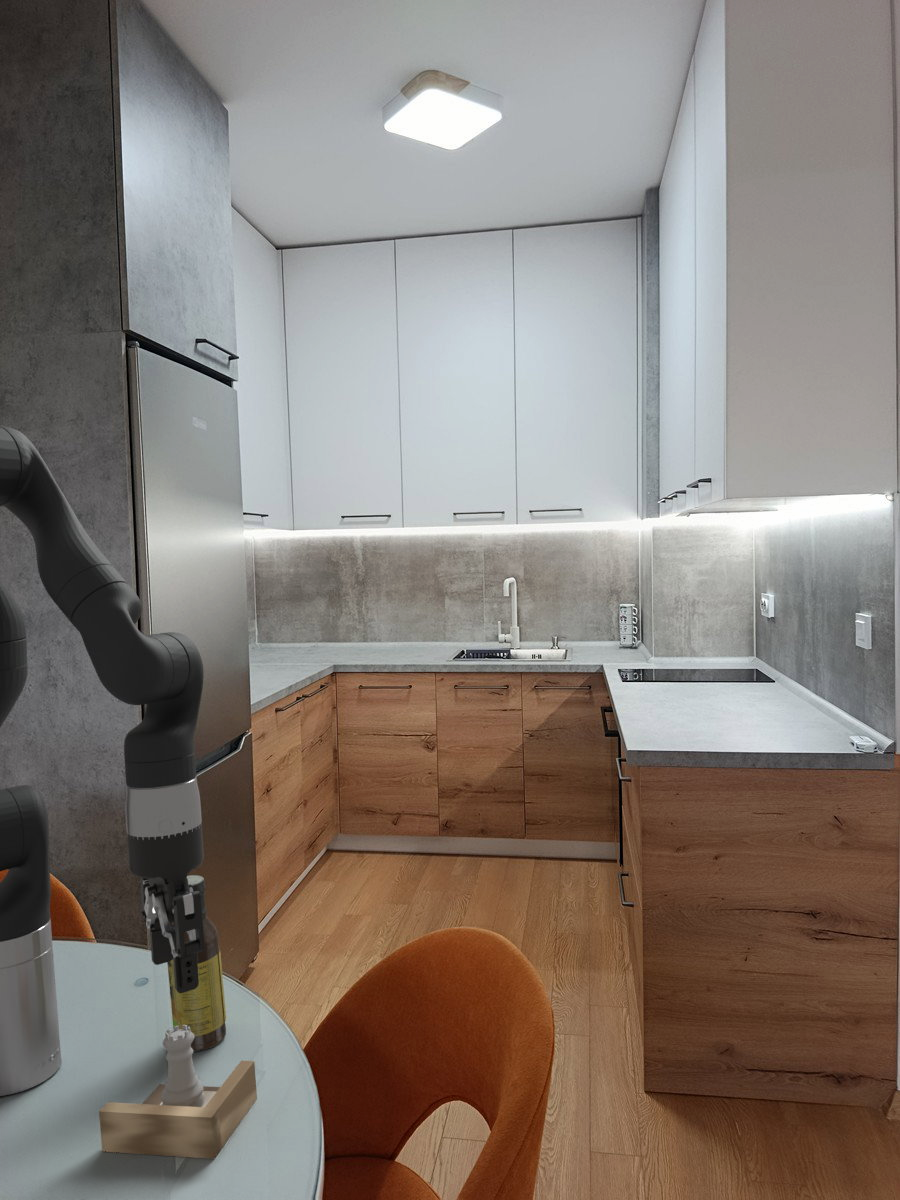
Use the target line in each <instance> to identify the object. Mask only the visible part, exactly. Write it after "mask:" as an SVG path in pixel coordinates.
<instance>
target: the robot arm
mask: <svg viewBox="0 0 900 1200" xmlns="http://www.w3.org/2000/svg"><path fill="white" fill-rule="evenodd" d="M0 507H4V508H6V509H7V510H8V511H10V512H11V514H13V515H14V516H16V518H17V519H19V520H20V522H21V523H23V525H24V526H26V528H27V529H28V531H29V532H30V534H31V536H32V538H33V541H34V545H35V551H36V552H35V553H36V554H35V555H36V564H37V570H38V574H39V578H40V581H41V583H42V585H43V588H44V589H45V591H46V593H47V594H48V596H49V597H50V599H51V600H52V601H53V602H54V603H55V605H56V606H57V607H58V609H59V611H61V612H62V613H63V615H64V616H65V618H67V619H68V621H69V622H70V623H71V624H72V626H73V627H74V628H75V629H76V630H77V631H78V632H79V633H80V637H81V639H82V642H83V644H84V647H85V651H87V654H88V657H89V659H90V661H91V663H92V666H93V668H94V671H95V672H96V675H97V677H98V679H99V681H100V683H101V684H102V686H103V687H104V688H105V689H106V691H108V693H109V694H110V695H112V697H115V698H116V700H119V701H120V702H122V703H124V704H127V705H130V706H131V705H132V706H143V705H145V706H146V707H145V712H144V716H143V719H142V720H141V722H140V723H139V724H137V725H136V726H135V727H133V728H131V730H129V731H128V732H127V734H126V736H125V738H124V742H123V757H124V758H123V759H124V773H125V784H126V785H125V786H126V787H125V788H126V789H125V790H126V792H125V807H124V808H125V825H126V842H127V855H128V856H127V857H128V869H129V873H130V874H132V875H133V876H135V877H137V878H139V880H140V881H139V884H140V901H141V903H140V904H141V912H140V913H141V917H142V919H144V920H145V919H146V922H145V925H146V927H147V929H148V930H149V935H150V936H149V939H150V951H151V952H150V953H151V961H152V962H153V964H154V965H156V966H158V965H162V964H166V963H167V962H169V961H171V960H172V959H173V965H174V980H175V989H176V990H177V992H178V993H184V992H187V991H190V990H194V989H196V988H197V987H198V985H199V980H198V965H197V953H198V952H201V951H204V950H205V942H204V932H203V920H202V908H201V895H200V893H199V891H194V892H193V888H192V885H191V884H188V879H187V876H189V875H188V874H190V872H191V871H193V870H196V869H197V868H198V867H200V866H201V865H202V864H203V862H204V861H205V860H204V859H205V853H204V852H205V851H204V837H203V836H204V835H203V824H202V823H203V820H202V807H201V806H202V804H201V796H200V789H199V785H198V779H197V768H196V765H197V764H196V755H195V754H196V753H195V744H194V743H195V742H194V739H195V731H196V727H197V723H198V719H199V713H200V706H201V700H202V695H203V689H204V688H203V687H204V671H205V670H204V664H203V659H202V656H201V654H200V651H199V649H198V646H196V644H195V643H194V642H193V640H192V639H191V638H189V636H186V635H185V634H184V633H183V634H182V633H179V632H170V631H168V632H167V631H166V632H162V633H161V632H160V633H153V634H143V633H142V632H141V631H140V630H139V629H138V628H137V627H136V623H137V622H138V621H139V619H140V617H141V615H142V611H143V605H142V601H141V599H140V598H139V596H138V595H137V593H136V592H135V591H134V588H132V586H131V585H129V583H128V582H127V581H126V580H125V579H124V577H123V576H122V575H121V574H120V572H119V571H118V570H117V569H116V568H115V567H114V565H113V564H112V563H111V562H110V561H109V560H108V558H107V557H106V556H105V555H104V553H103V552H102V551H101V550H100V549H99V547H98V546H97V545H96V544H95V542H94V541H93V540H92V539H91V537H90V536H89V535H88V533H87V531H86V530H85V528H84V527H83V525H82V523H81V522H80V520H79V519H78V517H77V515H76V513H75V511H74V510H73V508H72V507H71V505H70V503H69V501H68V500H67V498H66V496H65V495H64V493H63V491H62V489H61V488H60V487H59V485H58V483H57V481H56V479H55V477H54V475H53V474H52V472H51V471H50V469H49V467H48V465H47V464H46V462H45V460H44V459H43V457H42V455H41V454H40V453H39V451H38V449H37V447H36V446H35V445H34V444H33V442H31V440H30V439H29V438H28V437H27V436H26V435H25V434H24V433H22V432H21V431H19V430H18V429H16V428H13V427H9V426H6V425H1V424H0ZM27 635H28V634H27V628H26V621H25V617H24V614H23V613H22V610H21V608H20V605H18V603H17V601H16V599H15V597H14V596H13V594H12V593H11V591H10V590H9V588H8V586H7V585H6V584H5V582H4V580H3V579H2V577H1V576H0V728H1V727H2V726H3V724H4V722H5V721H6V720H7V718H8V716H9V715H10V713H11V712H12V711H13V709H14V707H15V704H16V703H17V701H18V699H19V698H20V697H21V694H22V692H23V690H24V687H25V685H26V683H27V680H28V674H29V673H28V672H29V670H28V665H29V664H28V645H27V642H28V639H27ZM50 862H51V861H50V823H49V816H48V810H47V806H46V802H45V800H44V798H43V795H42V794H41V792H40V791H39V790H38V789H37V788H36V787H34V786H32V785H28V784H23V785H16V786H15V785H14V786H10V787H6V788H1V789H0V872H2V871H6V870H7V872H6V875H5V876H4V877H3V879H1V881H0V1097H2V1096H7V1095H8V1096H9V1095H12V1094H17V1093H19V1092H20V1093H22V1092H23V1091H26V1090H29V1089H32V1088H33V1087H35V1086H38V1085H40V1084H42V1083H43V1082H45V1081H46V1080H48V1079H49V1078H51V1077H52V1076H53V1075H55V1073H56V1072H58V1070H59V1069H60V1067H61V1065H62V1051H61V1038H60V1036H61V1035H60V1025H59V1012H58V1011H59V1009H58V1000H57V999H58V998H57V996H58V995H57V988H56V987H57V985H56V972H55V961H54V949H53V948H54V947H53V937H52V936H53V935H52V933H53V932H52V922H51V909H50V906H51V896H52V893H51V890H52V889H51V886H52V885H51V868H50V867H51V866H50ZM174 923H175V924H174ZM185 932H187V933H188V935H189V939H190V941H188V942H184V933H185Z"/></svg>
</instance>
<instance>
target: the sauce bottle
mask: <svg viewBox="0 0 900 1200" xmlns="http://www.w3.org/2000/svg"><path fill="white" fill-rule="evenodd" d="M187 879H188V884H191V885H192V888H193V892H194V891H199V893H200V895H201V908H202V920H203V932H204V942H205V950H204V951H201V952H198V953H197V965H198V980H199V985H198V987H197V988H196V989H194V990H190V991H187V992H184V993H178V992H177V990H176V989H175V980H174V965H173V959H172V960H171V961H169V962H166V963H167V972H168V973H167V975H168V982H169V983H168V984H169V997H170V1007H171V1019H172V1029H173V1030H172V1031H174V1026H178V1028H179V1029H182V1025H187V1027H189V1026H190V1030H191V1032H192V1033H193V1034H194V1036H195V1037H194V1040H193V1042H192V1043H191V1048H192V1049H193V1051H194V1052H199V1051H204V1050H208V1049H212V1048H214V1047H215V1046H217V1045H219V1044H220V1043H221V1042H222V1040H223V1039H225V1037H226V1034H227V1028H226V1027H227V1026H226V1021H227V1011H226V1001H225V991H224V990H225V989H224V980H223V978H224V977H223V966H222V957H221V956H222V955H221V949H220V945H219V943H220V942H219V933H218V929H217V927H216V925H215V924H214V923H213V922H212V920H211V919H210V918H209V917H208V915H207V908H206V903H205V902H206V899H205V889H206V885H205V879H204V877H203V876H201V875H194V874H193V875H187ZM173 924H175V923H173ZM188 941H190V939H189V935H188V933H187V932H185V933H184V942H188Z"/></svg>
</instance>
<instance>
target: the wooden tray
mask: <svg viewBox="0 0 900 1200" xmlns="http://www.w3.org/2000/svg"><path fill="white" fill-rule="evenodd" d="M165 1085H166V1083H165V1084H160V1083H159V1085H157V1086H156V1087H155V1088H154V1090H153V1091H152V1092H151V1093H150V1094H149V1095H148V1096H147V1097H146V1098H145V1099H144V1101H143V1102H142V1103H131V1102H130V1103H129V1102H128V1103H127V1102H126V1103H125V1102H110V1101H108V1102H107V1103H105V1105H104V1106H102V1108H101V1109H100V1110H99V1111H98V1114H99V1126H100V1127H99V1129H100V1139H101V1140H100V1141H101V1143H100V1144H101V1152H102V1151H103V1153H104V1152H105V1151H106V1153H116V1152H117V1154H118V1152H119V1154H134V1155H135V1154H136V1155H148V1156H149V1155H150V1156H163V1157H165V1156H166V1157H178V1158H179V1157H180V1158H194V1159H195V1158H196V1159H209V1160H214V1159H216V1158H217V1156H218V1154H219V1153H220V1152H221V1151H222V1149H223V1148H224V1146H225V1145H226V1143H227V1142H228V1140H230V1138H231V1136H232V1135H233V1133H234V1131H236V1129H237V1128H238V1126H239V1125H240V1123H241V1122H242V1121H243V1120H244V1118H245V1116H246V1115H247V1113H248V1112H249V1110H250V1109H251V1107H252V1106H253V1105H254V1103H255V1102H256V1100H258V1095H257V1094H258V1093H257V1091H258V1090H257V1080H256V1065H255V1061H254V1060H241V1061H240V1062H239V1063H238V1064H237V1065H236V1067H235V1068H234V1069H233V1070H232V1072H231V1073H230V1074H229V1075H228V1077H227V1078H226V1079H225V1081H223V1083H222V1084H221V1085H220V1086H208V1085H207V1086H205V1085H203V1087H204V1090H203V1093H204V1095H205V1099H204V1102H203V1103H202V1105H201V1107H188V1106H169V1105H162V1103H163V1102H162V1099H161V1096H162V1093H163V1091H164V1089H165Z"/></svg>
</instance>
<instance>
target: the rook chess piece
mask: <svg viewBox="0 0 900 1200" xmlns="http://www.w3.org/2000/svg"><path fill="white" fill-rule="evenodd" d="M194 1037H195V1036H194V1034H193V1033H192V1032H191V1030H190V1026H189V1027H187V1025H182V1029H179V1028H178V1026H174V1030H172V1028H168V1029H167V1030H166V1033H165V1038H164V1039H163V1040H162V1043H161V1044H162V1046H163V1047H164V1049H165V1050H167V1054H166V1055H165V1060H167V1065H168V1068H167V1078H166V1079H167V1080H166V1082H165V1084H166V1085H165V1089H164V1091H163V1093H162V1096H161V1099H162V1102H163V1103H162V1105H169V1106H188V1107H201V1105H202V1103H203V1102H204V1099H205V1095H204V1093H203V1090H204V1087H203V1086H204V1085H203V1082H202V1081H201V1080H200V1078H199V1076H198V1075H197V1074H196V1072H195V1071H196V1070H195V1067H194V1063H193V1054H194V1052H195V1051H193V1049H192V1048H191V1043H192V1042H193V1040H194Z"/></svg>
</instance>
